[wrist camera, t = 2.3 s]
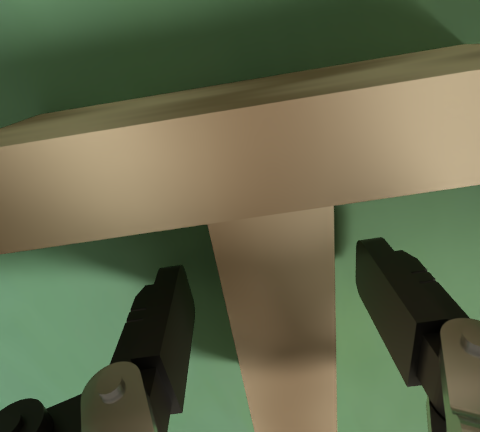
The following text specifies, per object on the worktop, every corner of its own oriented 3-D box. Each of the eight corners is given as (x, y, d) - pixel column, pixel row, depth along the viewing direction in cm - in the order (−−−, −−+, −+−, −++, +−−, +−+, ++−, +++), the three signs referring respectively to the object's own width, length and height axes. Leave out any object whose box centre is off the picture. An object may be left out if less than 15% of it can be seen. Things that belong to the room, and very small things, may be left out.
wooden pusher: (463, 44, 9) (650, 41, 5) (416, 346, 14) (486, 457, 10) (40, 114, 9) (-97, 162, 5) (153, 378, 15) (126, 495, 11)
